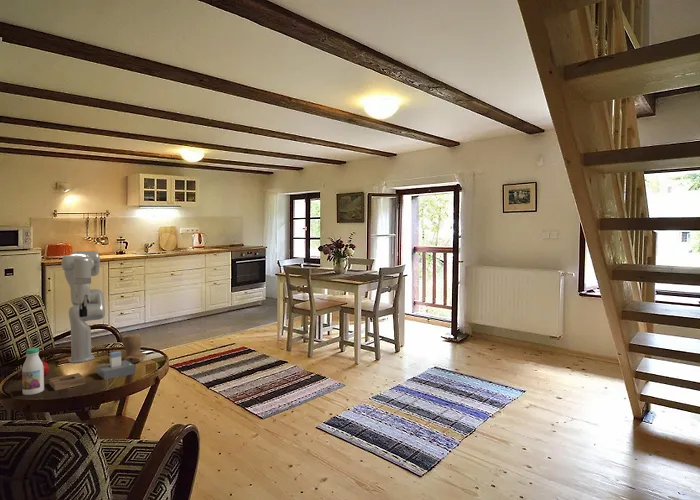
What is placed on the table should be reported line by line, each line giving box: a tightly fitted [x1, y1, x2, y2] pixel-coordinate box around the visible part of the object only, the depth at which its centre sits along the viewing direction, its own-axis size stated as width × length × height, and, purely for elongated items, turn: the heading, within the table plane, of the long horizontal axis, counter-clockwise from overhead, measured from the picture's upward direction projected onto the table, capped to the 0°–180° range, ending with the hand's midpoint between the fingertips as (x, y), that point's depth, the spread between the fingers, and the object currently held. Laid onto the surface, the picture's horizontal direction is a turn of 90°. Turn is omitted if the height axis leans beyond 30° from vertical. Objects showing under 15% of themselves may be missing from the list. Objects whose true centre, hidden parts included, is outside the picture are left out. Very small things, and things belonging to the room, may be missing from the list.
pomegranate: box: [40, 358, 50, 377], centre depth 207 cm, size 10×10×9 cm
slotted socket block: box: [48, 372, 87, 391], centre depth 194 cm, size 12×12×3 cm
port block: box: [96, 359, 136, 380], centre depth 210 cm, size 12×14×5 cm
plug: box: [109, 350, 122, 368], centre depth 210 cm, size 3×5×11 cm
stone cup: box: [121, 332, 147, 364], centre depth 233 cm, size 15×12×15 cm
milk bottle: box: [21, 347, 45, 396], centre depth 184 cm, size 8×8×20 cm
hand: (83, 316), depth 212 cm, fingers closed
